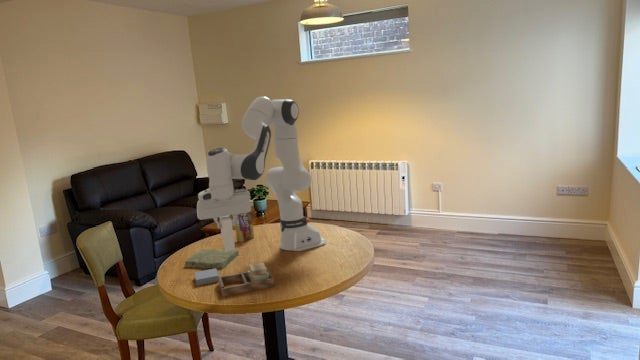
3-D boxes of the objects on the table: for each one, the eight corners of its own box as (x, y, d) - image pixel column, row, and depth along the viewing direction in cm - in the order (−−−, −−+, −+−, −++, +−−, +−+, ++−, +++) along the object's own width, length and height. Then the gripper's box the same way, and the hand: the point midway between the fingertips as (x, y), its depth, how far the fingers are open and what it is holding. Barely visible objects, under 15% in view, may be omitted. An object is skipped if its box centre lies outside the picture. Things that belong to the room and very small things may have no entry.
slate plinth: (216, 273, 195) (216, 268, 194) (219, 281, 186) (218, 275, 186) (195, 277, 192) (194, 272, 192) (196, 285, 184) (195, 279, 183)
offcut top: (263, 267, 185) (263, 262, 185) (267, 274, 178) (266, 268, 178) (250, 270, 184) (249, 264, 184) (252, 277, 177) (252, 271, 176)
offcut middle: (262, 273, 186) (262, 267, 186) (269, 279, 179) (268, 273, 179) (248, 276, 184) (248, 271, 183) (255, 283, 177) (254, 277, 176)
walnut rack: (267, 274, 189) (266, 266, 189) (274, 285, 177) (273, 277, 177) (218, 284, 183) (217, 276, 183) (222, 296, 171) (221, 288, 171)
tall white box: (231, 243, 181) (228, 213, 178) (235, 249, 172) (231, 219, 170) (222, 244, 179) (219, 215, 177) (225, 251, 171) (221, 220, 169)
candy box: (249, 236, 245) (246, 208, 242) (254, 237, 242) (251, 209, 240) (236, 241, 239) (232, 212, 236) (241, 242, 236) (238, 213, 233)
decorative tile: (201, 255, 222) (200, 248, 222) (239, 255, 218) (238, 247, 217) (182, 269, 204) (180, 262, 204) (223, 270, 200) (222, 262, 199)
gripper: (247, 186, 178) (251, 220, 180) (194, 194, 172) (198, 229, 174) (250, 189, 172) (254, 224, 175) (195, 197, 166) (200, 233, 168)
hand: (226, 226), depth 174 cm, fingers closed on tall white box, 3 cm apart
